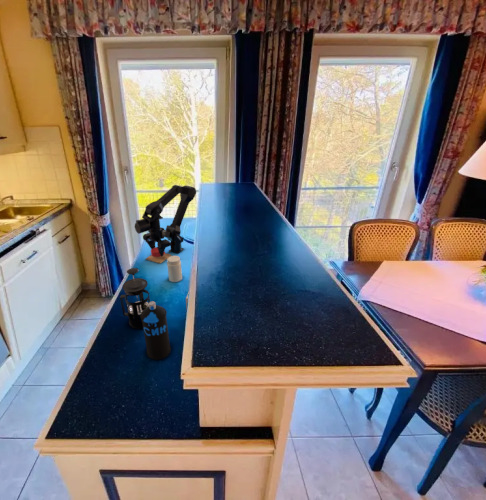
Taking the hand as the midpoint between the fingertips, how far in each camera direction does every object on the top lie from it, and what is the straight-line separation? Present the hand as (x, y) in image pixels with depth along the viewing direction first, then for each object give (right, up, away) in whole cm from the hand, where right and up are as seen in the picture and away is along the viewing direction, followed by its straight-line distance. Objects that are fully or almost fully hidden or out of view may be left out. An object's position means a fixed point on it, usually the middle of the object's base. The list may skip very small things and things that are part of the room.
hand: (158, 254), depth 156 cm
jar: (+12, -12, -19) cm, 25 cm away
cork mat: (0, -2, +1) cm, 2 cm away
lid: (0, +2, -1) cm, 2 cm away
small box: (+23, -24, -44) cm, 55 cm away
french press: (+1, -26, -46) cm, 53 cm away
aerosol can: (+11, -32, -60) cm, 69 cm away
